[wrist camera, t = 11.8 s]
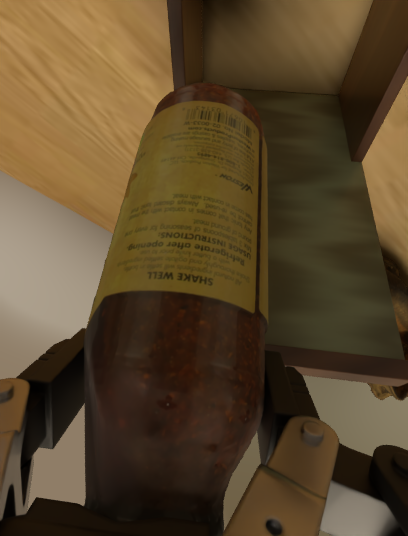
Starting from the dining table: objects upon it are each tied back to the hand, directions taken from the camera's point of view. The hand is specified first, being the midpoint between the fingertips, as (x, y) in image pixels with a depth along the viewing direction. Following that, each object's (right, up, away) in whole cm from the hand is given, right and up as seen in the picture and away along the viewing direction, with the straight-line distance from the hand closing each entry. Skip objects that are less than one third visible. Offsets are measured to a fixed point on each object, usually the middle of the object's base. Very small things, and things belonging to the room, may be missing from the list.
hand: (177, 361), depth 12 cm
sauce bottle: (+1, +11, +4) cm, 12 cm away
